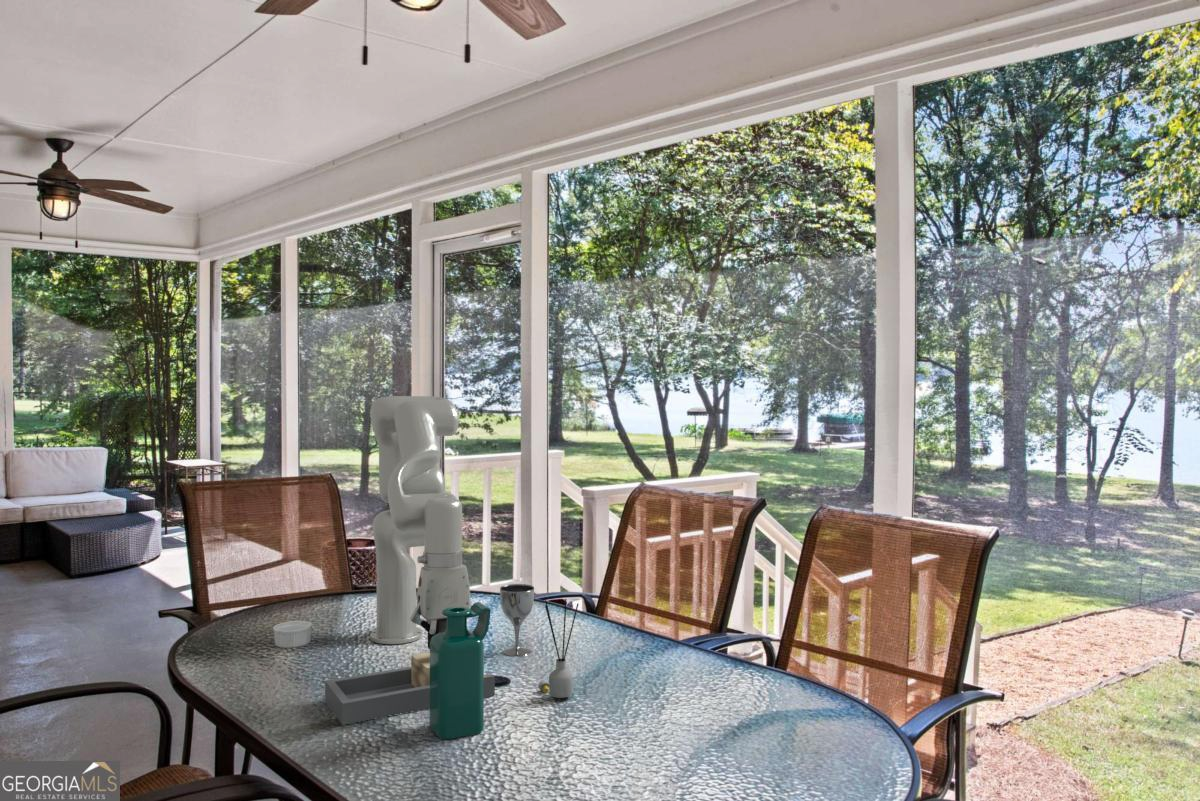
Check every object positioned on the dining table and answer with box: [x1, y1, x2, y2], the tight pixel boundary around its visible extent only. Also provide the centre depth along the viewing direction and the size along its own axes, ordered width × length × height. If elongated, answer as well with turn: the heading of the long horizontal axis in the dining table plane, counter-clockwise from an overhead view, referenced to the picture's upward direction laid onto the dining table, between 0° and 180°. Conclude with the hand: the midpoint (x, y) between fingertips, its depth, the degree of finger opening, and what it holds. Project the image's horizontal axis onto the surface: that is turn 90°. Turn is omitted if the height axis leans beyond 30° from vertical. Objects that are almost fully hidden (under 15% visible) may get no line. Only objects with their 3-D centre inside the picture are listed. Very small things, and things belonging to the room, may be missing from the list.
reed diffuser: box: [538, 596, 579, 699], centre depth 169 cm, size 10×7×20 cm
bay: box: [324, 666, 496, 726], centre depth 169 cm, size 14×30×4 cm, turn 120°
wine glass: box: [499, 583, 535, 657], centre depth 199 cm, size 8×8×15 cm
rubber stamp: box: [410, 618, 447, 688], centre depth 172 cm, size 10×10×14 cm
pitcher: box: [429, 601, 492, 740], centre depth 154 cm, size 10×8×22 cm
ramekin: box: [272, 620, 313, 649], centre depth 205 cm, size 9×9×4 cm
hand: (443, 649), depth 172 cm, fingers closed on rubber stamp, 3 cm apart
